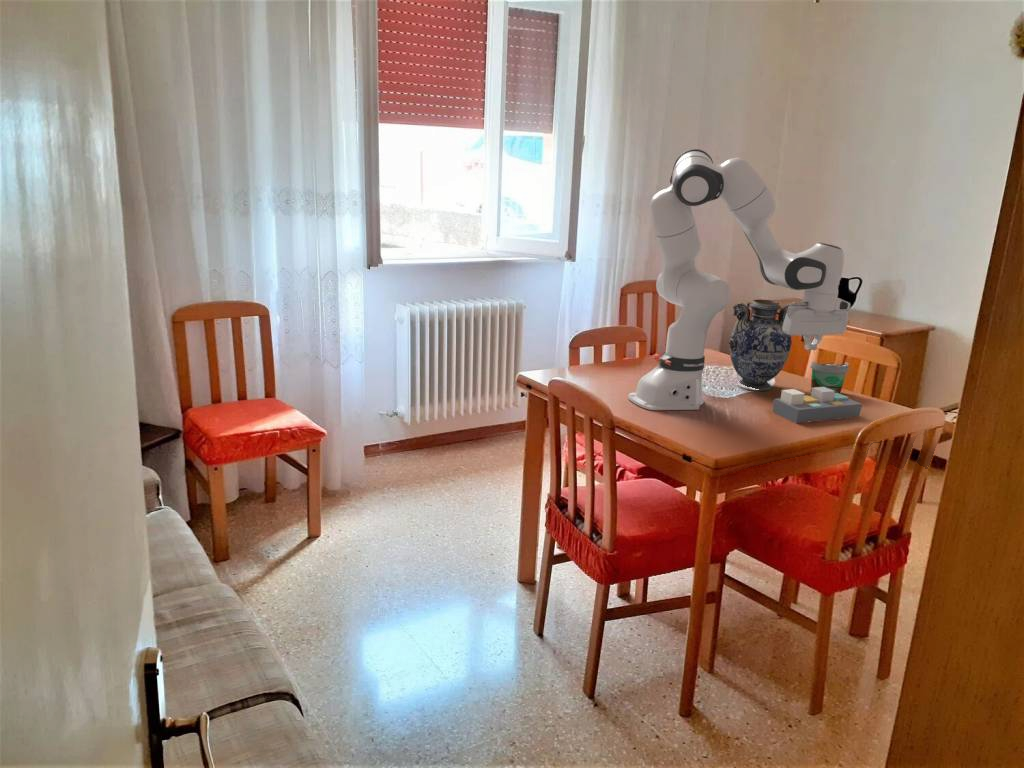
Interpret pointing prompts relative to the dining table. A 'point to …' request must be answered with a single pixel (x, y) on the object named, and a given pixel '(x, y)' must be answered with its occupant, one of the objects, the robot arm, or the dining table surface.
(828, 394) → the grey key
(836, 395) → the teal key
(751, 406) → the dining table surface
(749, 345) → the decorative vase
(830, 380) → the food container
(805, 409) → the keypad
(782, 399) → the cream key
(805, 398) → the ochre key
